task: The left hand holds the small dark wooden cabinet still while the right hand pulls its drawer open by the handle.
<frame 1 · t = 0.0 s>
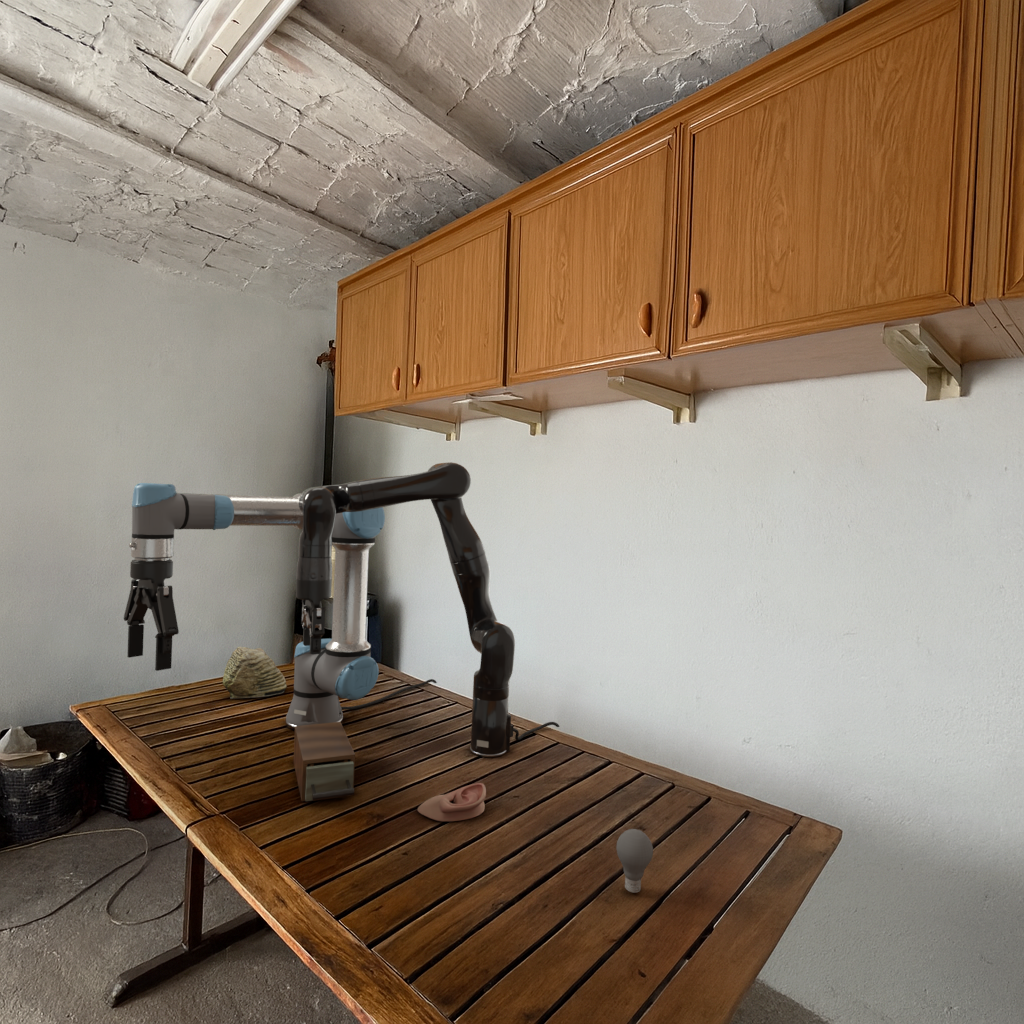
left hand: (148, 662, 129), 28 cm above the table, tool pointing down, fingers open, 13 cm apart
right hand: (311, 649, 141), 29 cm above the table, tool pointing down, fingers open, 8 cm apart
drawer: (325, 768, 138), point 4 cm above the table, slide at 1.1 cm
cabinet: (321, 777, 143), on the table
fossil: (254, 694, 198), on the table
light bulb: (632, 891, 106), on the table
anatomical model: (452, 809, 131), on the table
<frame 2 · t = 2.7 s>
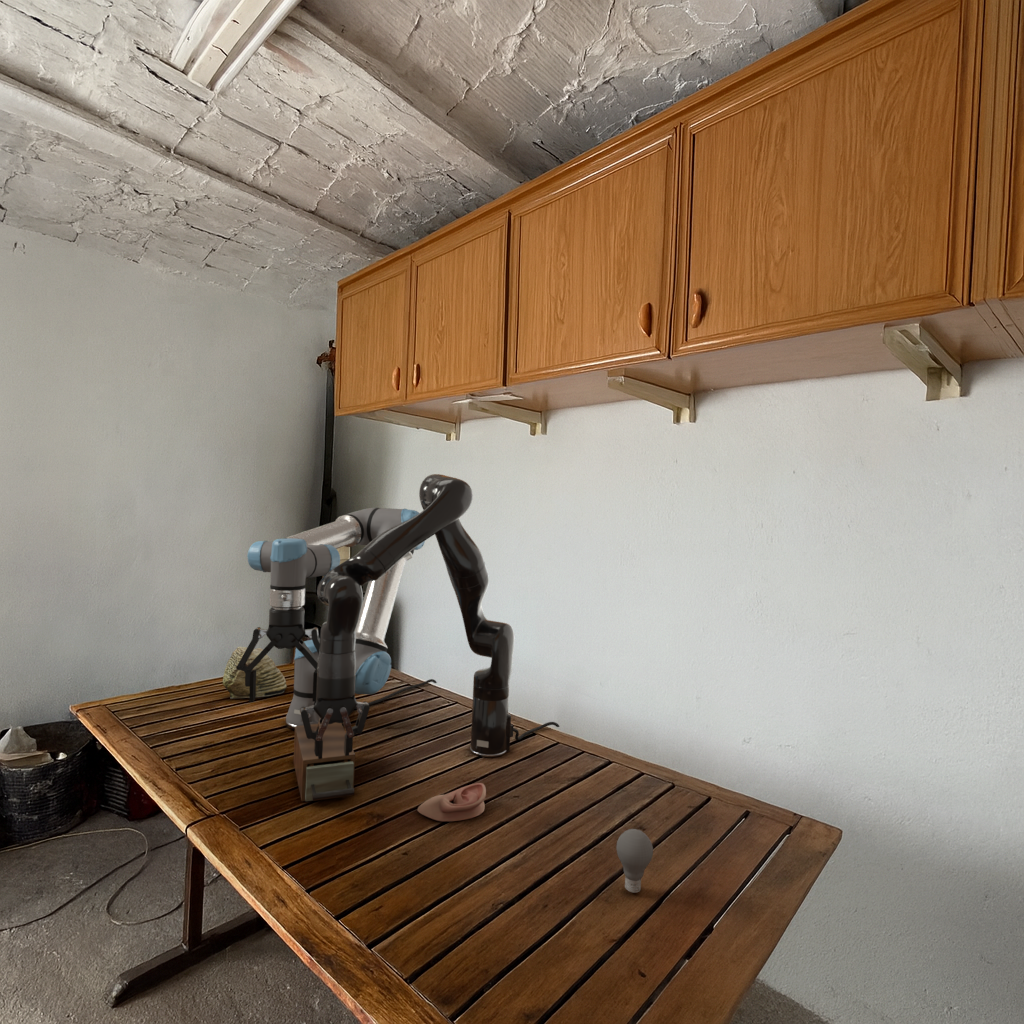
left hand: (283, 700, 144), 17 cm above the table, tool pointing down, fingers open, 13 cm apart
right hand: (333, 755, 128), 11 cm above the table, tool pointing down, fingers open, 4 cm apart
nothing on the table moved.
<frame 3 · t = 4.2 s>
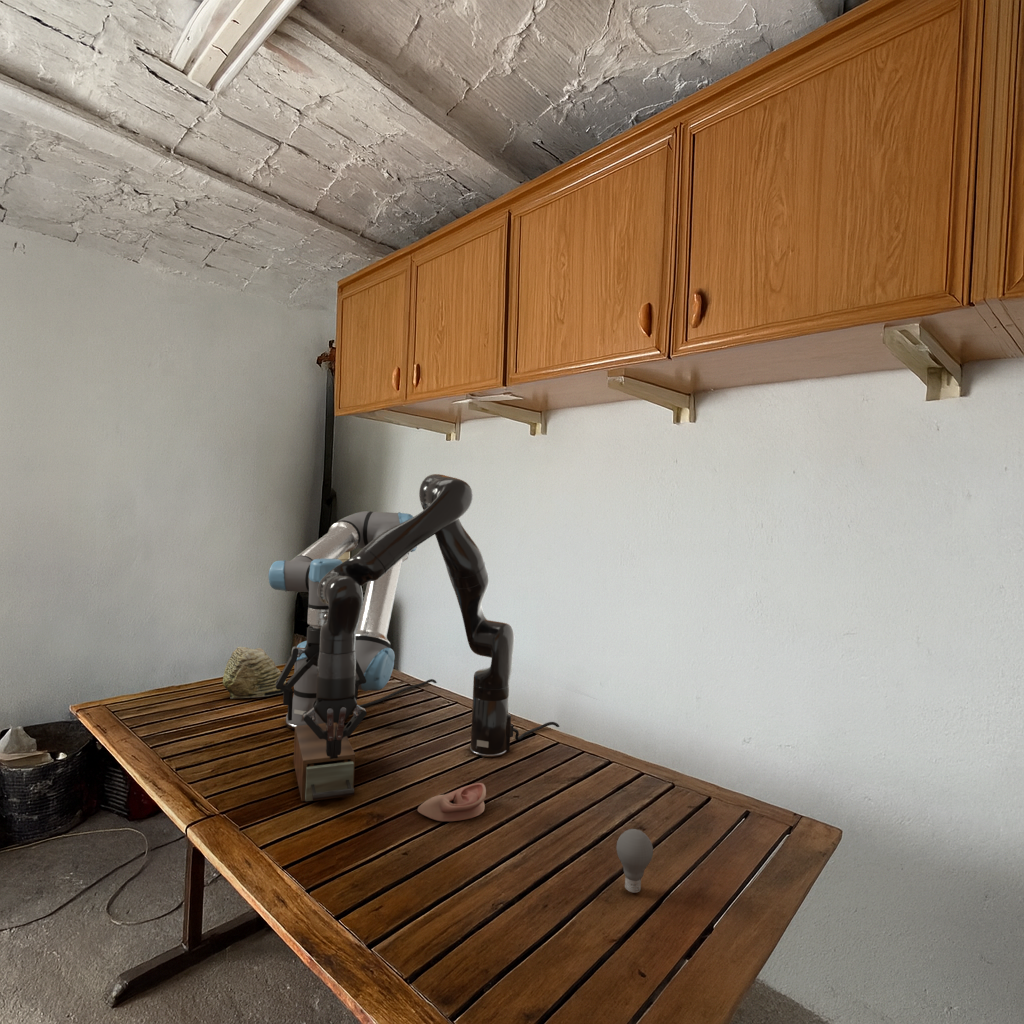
left hand: (320, 716, 148), 12 cm above the table, tool pointing down, fingers open, 13 cm apart
right hand: (333, 757, 128), 11 cm above the table, tool pointing down, fingers closed
nothing on the table moved.
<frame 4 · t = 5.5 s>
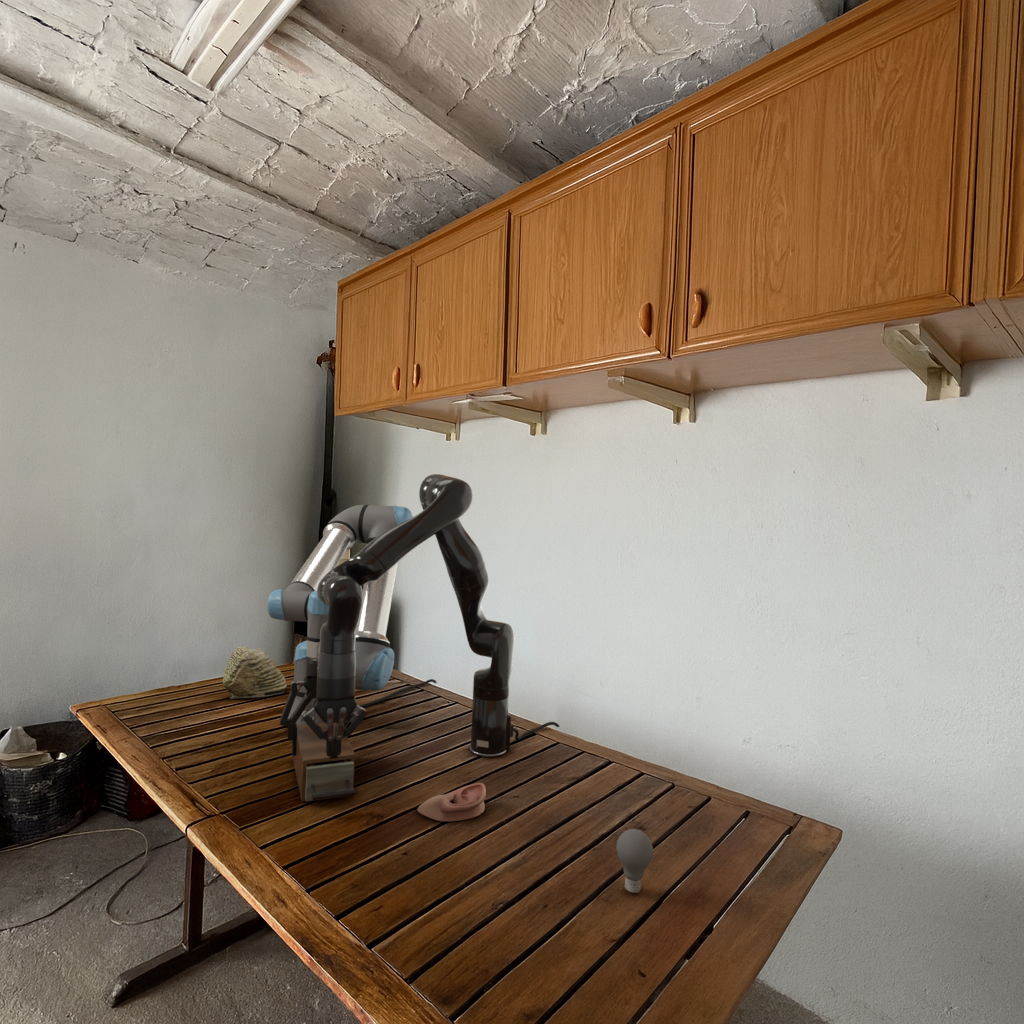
left hand: (319, 750, 148), 4 cm above the table, tool pointing down, fingers closed on cabinet, 11 cm apart
right hand: (333, 757, 128), 11 cm above the table, tool pointing down, fingers closed
cabinet: (321, 777, 143), on the table, touching left hand
everything else where it was.
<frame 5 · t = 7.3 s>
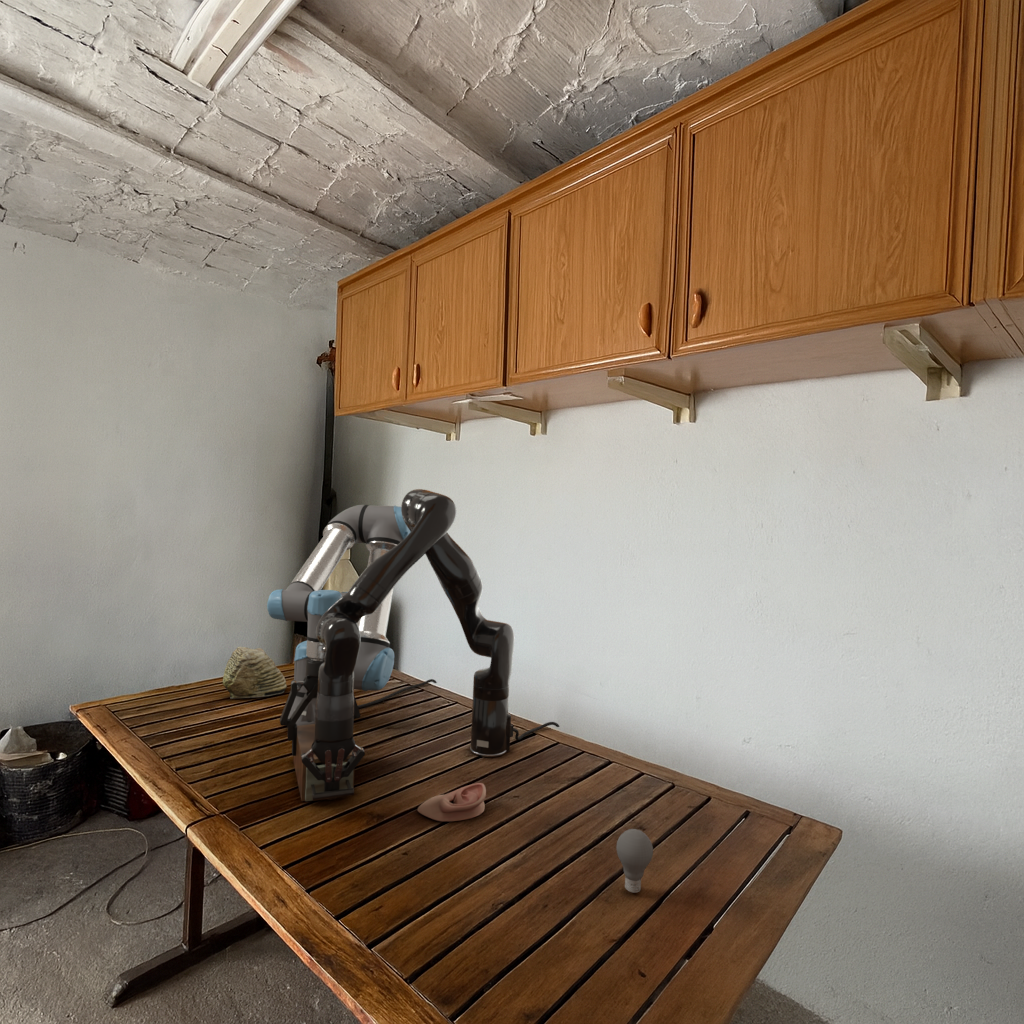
left hand: (319, 750, 148), 4 cm above the table, tool pointing down, fingers closed on cabinet, 11 cm apart
right hand: (331, 797, 128), 3 cm above the table, tool pointing down, fingers closed
drawer: (325, 768, 138), point 4 cm above the table, slide at 1.1 cm, touching right hand
cabinet: (321, 777, 143), on the table, touching left hand
everything else where it was.
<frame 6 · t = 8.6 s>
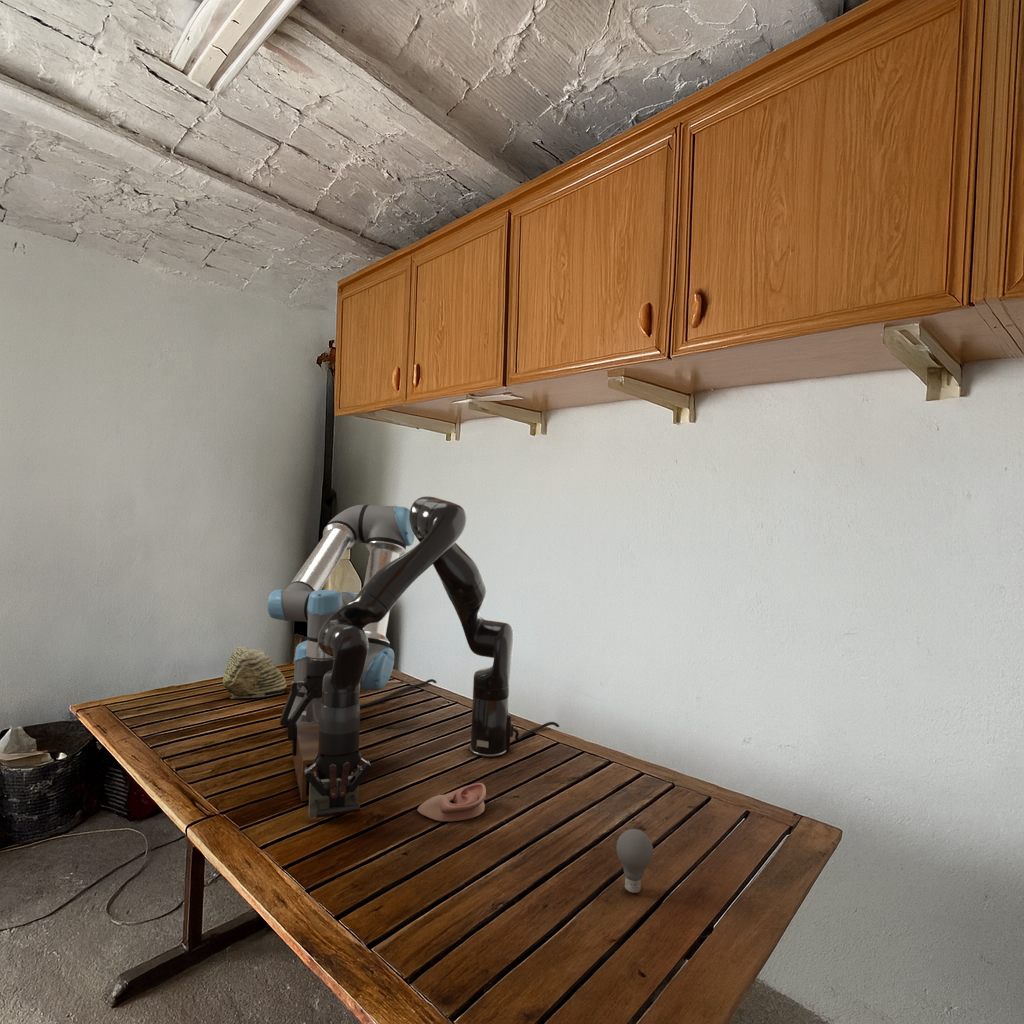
left hand: (319, 750, 148), 4 cm above the table, tool pointing down, fingers closed on cabinet, 11 cm apart
right hand: (336, 813, 122), 3 cm above the table, tool pointing down, fingers closed
drawer: (330, 782, 131), point 4 cm above the table, slide at 8.1 cm, touching right hand
cabinet: (322, 777, 143), on the table, touching left hand
everything else where it was.
when the left hand's fingers open (4 cm above the table, at t = 10.3 s): cabinet stays where it is, on the table.
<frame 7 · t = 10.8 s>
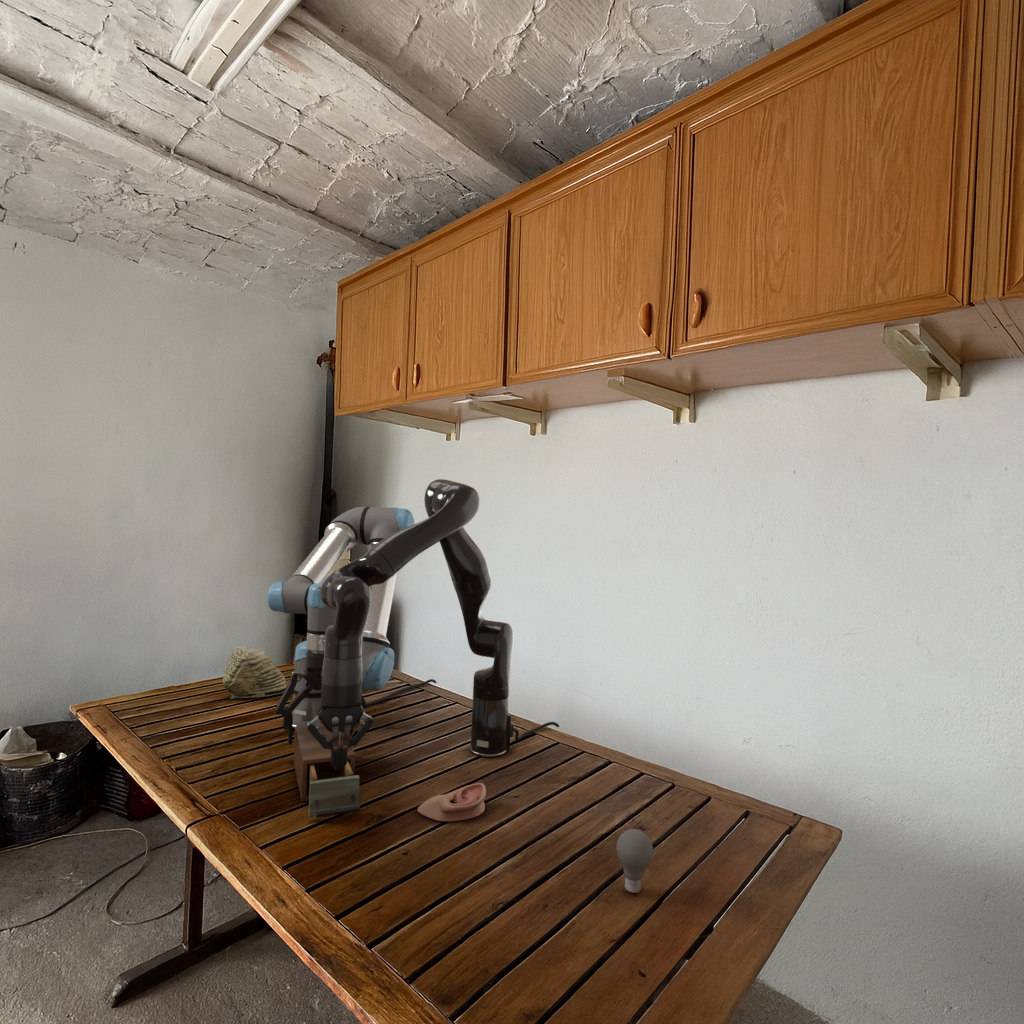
left hand: (320, 739, 149), 6 cm above the table, tool pointing down, fingers open, 13 cm apart
right hand: (338, 767, 122), 11 cm above the table, tool pointing down, fingers closed
drawer: (330, 782, 131), point 4 cm above the table, slide at 8.1 cm
cabinet: (322, 777, 143), on the table
everything else where it was.
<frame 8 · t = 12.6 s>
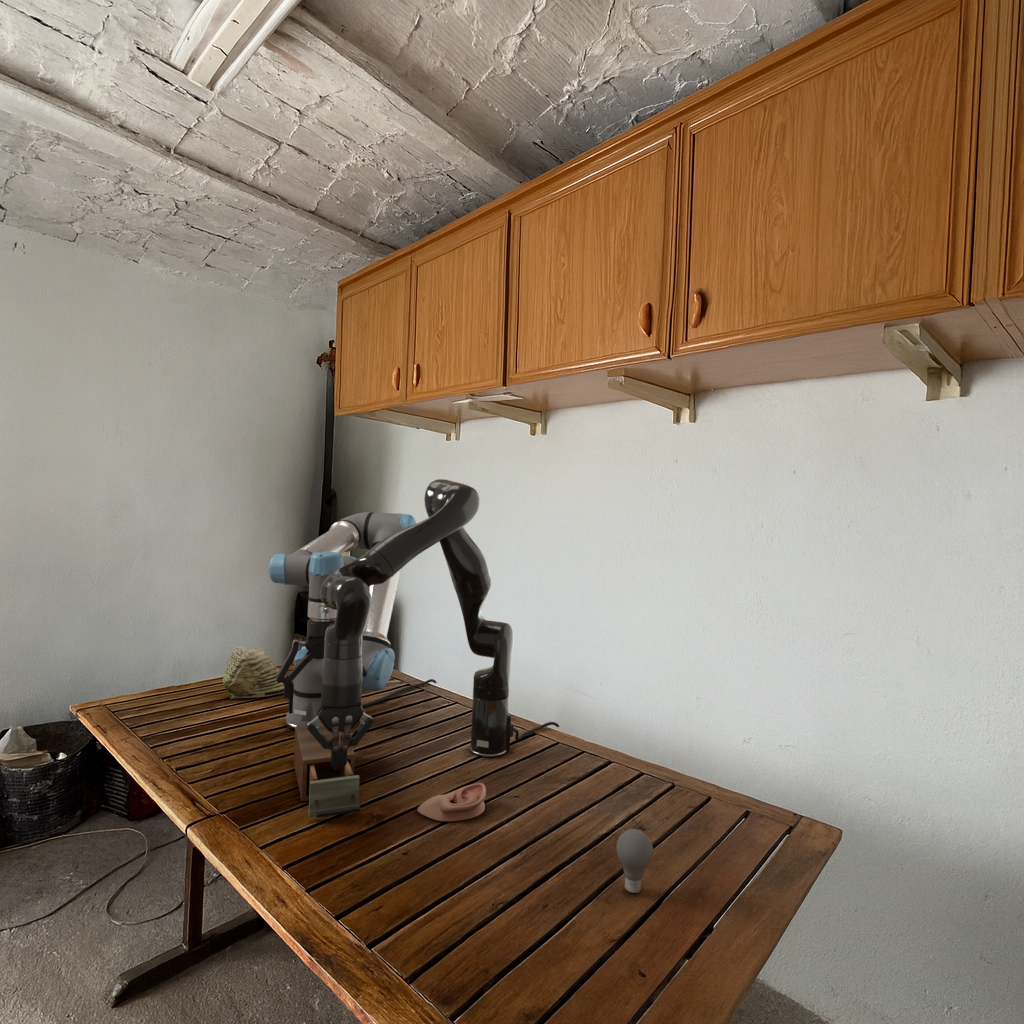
left hand: (321, 709, 148), 14 cm above the table, tool pointing down, fingers open, 13 cm apart
right hand: (338, 767, 122), 11 cm above the table, tool pointing down, fingers closed
nothing on the table moved.
at the end: drawer slide at 8.1 cm; cabinet tilted 0°; cabinet never tilted more than 1° during the clip; cabinet moved 0.0 cm from its start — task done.
